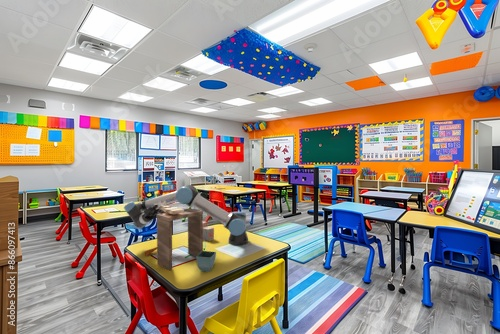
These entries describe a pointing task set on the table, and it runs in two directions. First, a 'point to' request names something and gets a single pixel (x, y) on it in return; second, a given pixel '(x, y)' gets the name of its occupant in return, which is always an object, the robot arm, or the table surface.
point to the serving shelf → (166, 235)
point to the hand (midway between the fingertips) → (163, 203)
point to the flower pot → (206, 260)
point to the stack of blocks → (208, 232)
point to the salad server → (171, 209)
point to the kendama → (150, 251)
